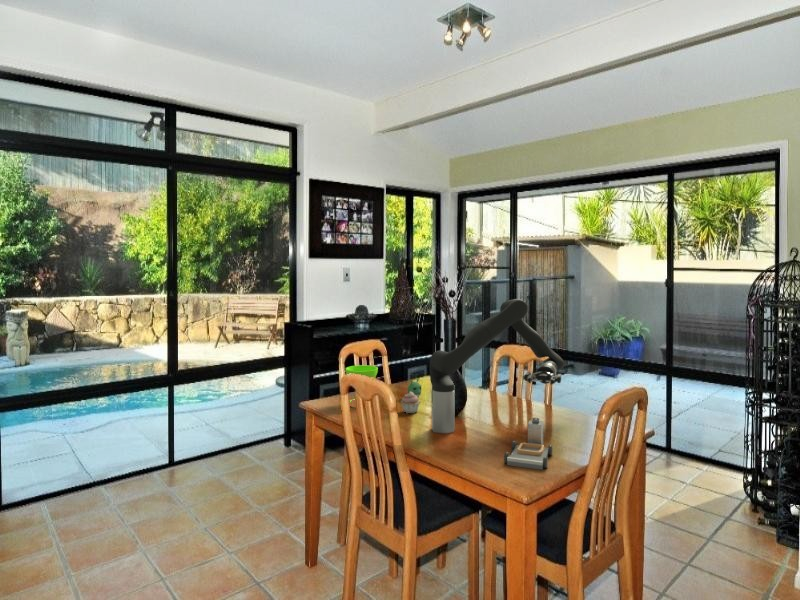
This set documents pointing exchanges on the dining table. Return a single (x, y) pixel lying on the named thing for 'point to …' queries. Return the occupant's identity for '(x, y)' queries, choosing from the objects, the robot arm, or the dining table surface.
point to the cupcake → (410, 403)
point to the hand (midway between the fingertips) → (540, 381)
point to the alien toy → (414, 388)
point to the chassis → (528, 455)
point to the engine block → (535, 431)
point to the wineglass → (363, 370)
